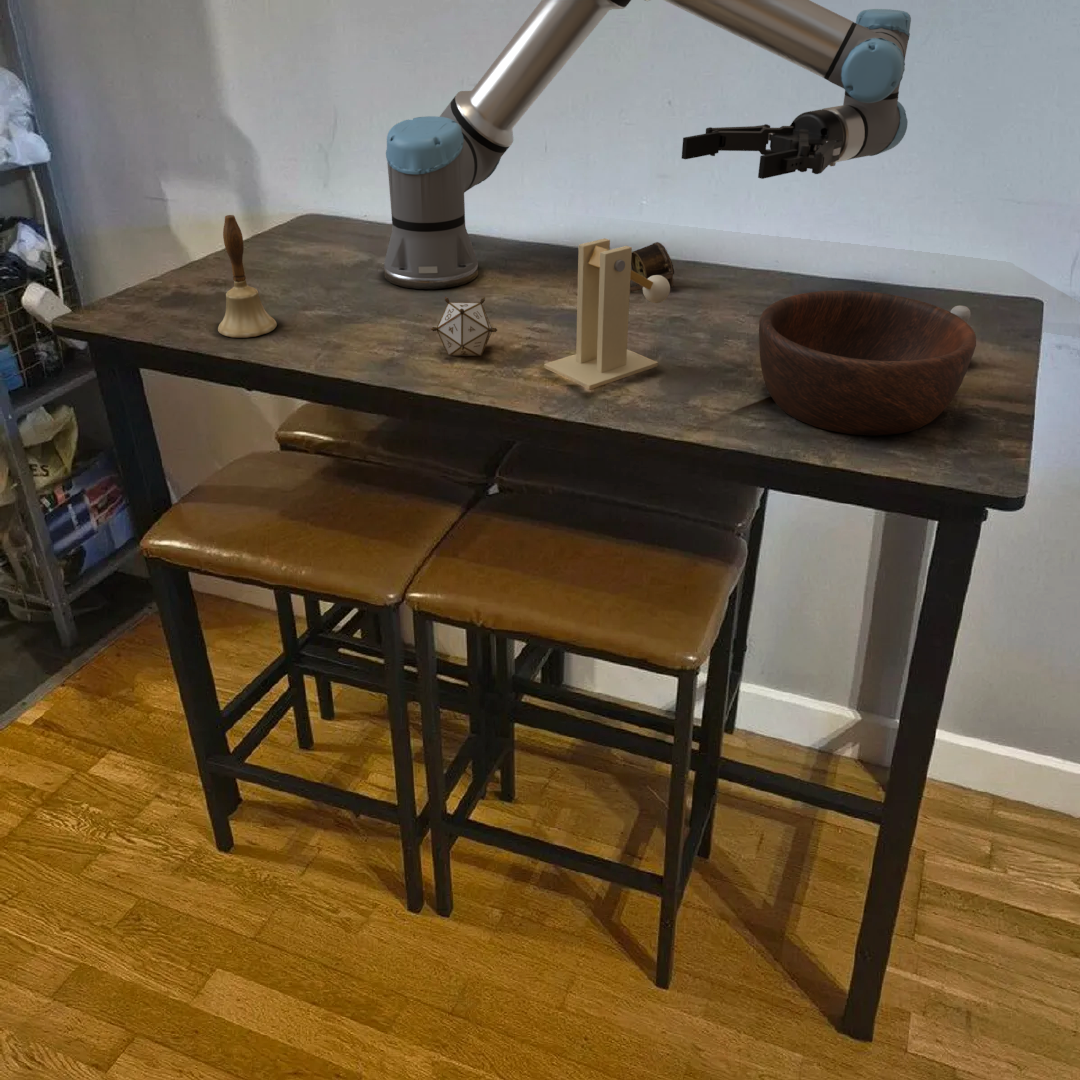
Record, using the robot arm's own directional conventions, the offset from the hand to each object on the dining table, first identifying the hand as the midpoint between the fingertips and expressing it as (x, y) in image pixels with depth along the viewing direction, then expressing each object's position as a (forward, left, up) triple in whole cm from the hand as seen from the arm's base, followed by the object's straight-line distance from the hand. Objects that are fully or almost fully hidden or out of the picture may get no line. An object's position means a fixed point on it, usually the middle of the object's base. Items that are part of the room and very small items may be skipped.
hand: (721, 157), depth 139 cm
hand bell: (-12, -65, -24) cm, 70 cm away
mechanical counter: (-20, -6, -24) cm, 32 cm away
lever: (+10, -14, -14) cm, 22 cm away
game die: (+4, -35, -24) cm, 43 cm away
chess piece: (+16, +29, -24) cm, 41 cm away
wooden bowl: (+26, +11, -24) cm, 37 cm away
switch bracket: (+12, -18, -24) cm, 32 cm away
